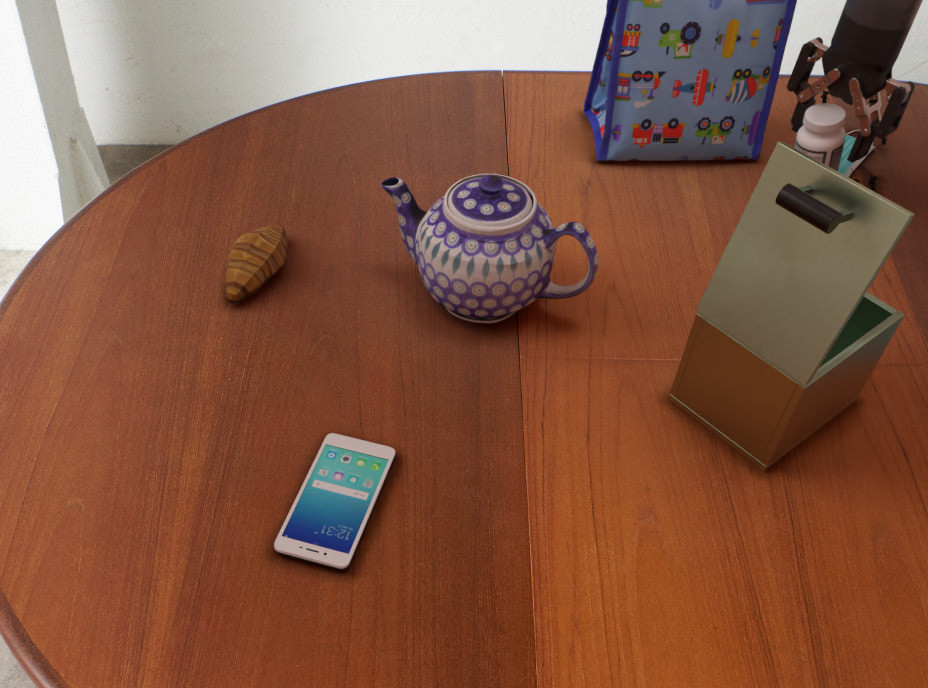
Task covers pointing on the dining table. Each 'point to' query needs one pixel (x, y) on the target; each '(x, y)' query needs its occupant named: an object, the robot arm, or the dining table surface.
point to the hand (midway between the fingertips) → (825, 144)
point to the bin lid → (800, 261)
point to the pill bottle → (823, 134)
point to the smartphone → (335, 502)
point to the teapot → (486, 246)
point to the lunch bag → (686, 78)
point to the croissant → (254, 261)
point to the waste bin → (776, 384)
